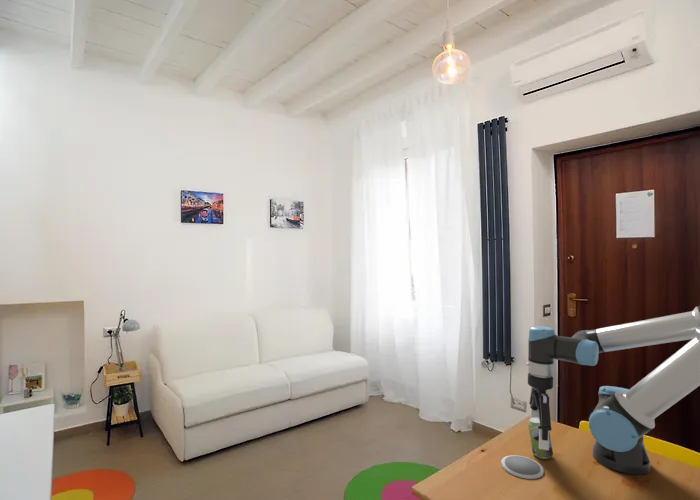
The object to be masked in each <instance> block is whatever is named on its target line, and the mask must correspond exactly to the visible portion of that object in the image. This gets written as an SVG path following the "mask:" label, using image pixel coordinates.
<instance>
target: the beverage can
mask: <svg viewBox="0 0 700 500" xmlns="http://www.w3.org/2000/svg"><path fill="white" fill-rule="evenodd" d="M527 424H528V431H529V438H530V443H531V449H532V454H533V456H536V457H537V458H539V459H543V460H544V459H550V458H551V457H552V456H554V451H553V445H552V440H551V433H550V432H551V431H549V450H543V449H539V429H538V426H540V420H539V417H532V418H531V417H530V418H529V419H528V423H527ZM546 426H547V425H546Z"/></svg>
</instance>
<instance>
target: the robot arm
mask: <svg viewBox="0 0 700 500" xmlns="http://www.w3.org/2000/svg"><path fill="white" fill-rule="evenodd" d="M528 331H529V332H528V339H527V341H528V346H527V348H528V350H527V351H528V361H527V362H526V364H525V365H526V366H527V372H528V373H527V384H528V386H530V387H531V388H530V389H531V390H530V397H529V402H528V404H529V405H530V406H529V408H530V418H532V417H539V420H540V426H538V429H539V449H543V450H549V432H551V431H552V423H551V409H550V396H549V395H548V393H547V391H548V390H552V389H553V387H554V374H555V373H554V371H555V369H554V368H555V363H554V360H558V361H563V362H569V363H574V364H578V365H581V366H591V367H593V366H596V365H597V364H598V362H599V354H601V353H607V352H615V351H621V350H626V349H627V350H629V349H633V348H640V347H646V346H654V345H661V344H667V343H669V344H670V343H674V342H681V341H688V342H686V344H684V345H683V346H682V347H681V348H679V349H678V350H677V351H676V352H675V353H673V354H671V356H669V357H668V358H667V359H665V360H664V361H663V362H662V363H661V364H659V365H658V366H657V367H656V368H654V369H653V370H652V371H651V372H649V373H648V374H647V375H646V376H645V377H643V378H642V379H641V380H639V381H638V382H637V383H636V384H635V385H633V386H632V387H630V388H624V387H618V386H613V385H612V386H610V385H602V386H600V387H599V390H598V402H597V405H596V406H595V408H594V409H593V411H592V412H591V413H590V415H589V417H588V427H589V431H590V434H591V435H592V437H593V439H595V441H594V443H593V445H592V457H593V458H594V460H595V461H597V462H598V463H599V464H601V465H603V466H604V467H606V468H608V469H610V470H612V471H616V472H620V473H624V474H628V475H635V476H636V475H638V476H639V475H645V474H648V473H650V472H651V460H650V456H649V454H648V451H647V449H646V445H645V443H644V436H645V435H646V434H648V433H650V432H651V430H653V429H655V426H656V423H655V419H656V418H657V417H659V416H660V415H661V414H663V413H664V412H665V411H667V410H668V409H670V408H671V407H672V406H674V405H675V404H677V403H678V402H679V401H681V400H682V399H683V398H685V397H686V396H687V395H690V394H691V392H693V391H694V390H696V389H697V388H698V387H700V305H698V306H695V307H694V308H693V310H691V311H686V312H681V313H680V312H679V313H676V314H675V313H674V314H670V315H664V316H659V317H653V318H648V319H644V320H638V321H633V322H626V323H621V324H616V325H610V326H605V327H600V328H599V327H598V328H596V329H590V330H589V329H584V330H582V329H581V330H579V331H576V332H575V333H574V334H573V335H572V336H571V337H570V336H561V335H557V334H556V333H555V329H554V328H552V327H549V326H546V325H545V326H543V325H534V326H532V327H530V328H529V330H528ZM546 425H547V426H546Z"/></svg>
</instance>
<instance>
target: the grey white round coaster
mask: <svg viewBox="0 0 700 500" xmlns="http://www.w3.org/2000/svg"><path fill="white" fill-rule="evenodd" d="M500 465H501V467H502V469H504V471H505V472H507V473H509V475H512V476H515V477H516V478H521V479H527V480H535V479H539V478H541V477H543V476H544V472H545V470H544V467H543V466H542V464H540V463H539V462H538V461H536V460H534V459H532V458H530V457H527V456H523V455H516V454H514V455H506V456H503V458H502V459H501V462H500Z"/></svg>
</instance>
